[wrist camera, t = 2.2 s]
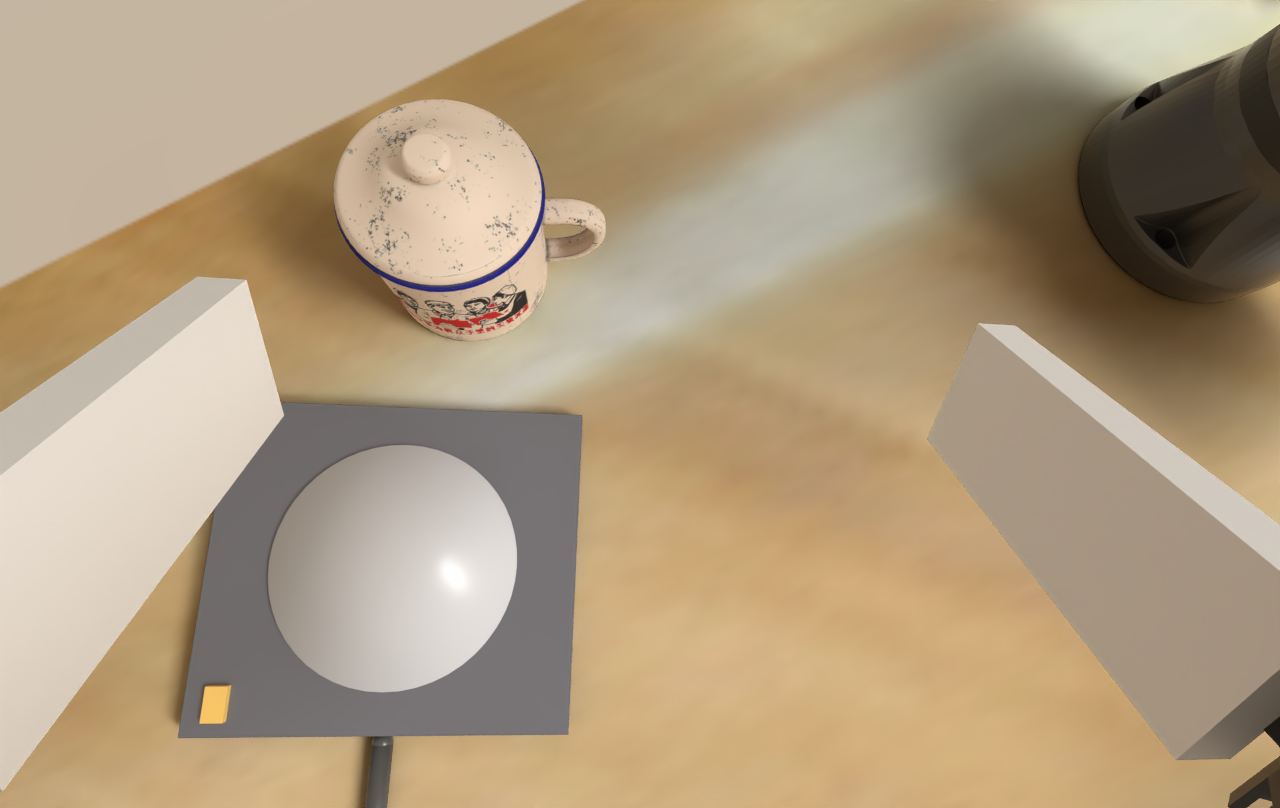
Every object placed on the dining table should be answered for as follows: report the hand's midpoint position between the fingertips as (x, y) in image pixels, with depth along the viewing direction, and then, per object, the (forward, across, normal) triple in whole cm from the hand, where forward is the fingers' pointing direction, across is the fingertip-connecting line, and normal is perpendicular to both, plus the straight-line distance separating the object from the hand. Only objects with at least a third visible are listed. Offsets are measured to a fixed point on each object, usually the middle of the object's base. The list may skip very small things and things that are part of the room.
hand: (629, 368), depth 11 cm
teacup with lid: (+24, -6, -8) cm, 26 cm away
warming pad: (+9, -10, -23) cm, 26 cm away
